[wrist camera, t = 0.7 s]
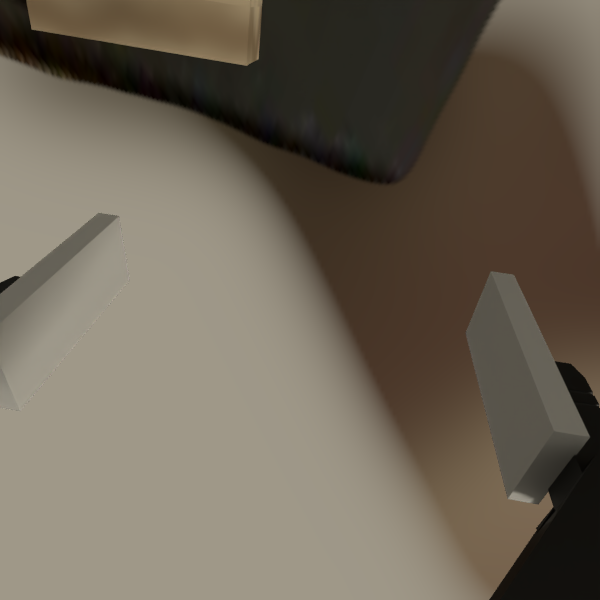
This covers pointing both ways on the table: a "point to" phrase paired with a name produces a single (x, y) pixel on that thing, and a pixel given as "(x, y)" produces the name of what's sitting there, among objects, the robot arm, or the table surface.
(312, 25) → the table surface
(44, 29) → the socket block
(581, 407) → the robot arm
